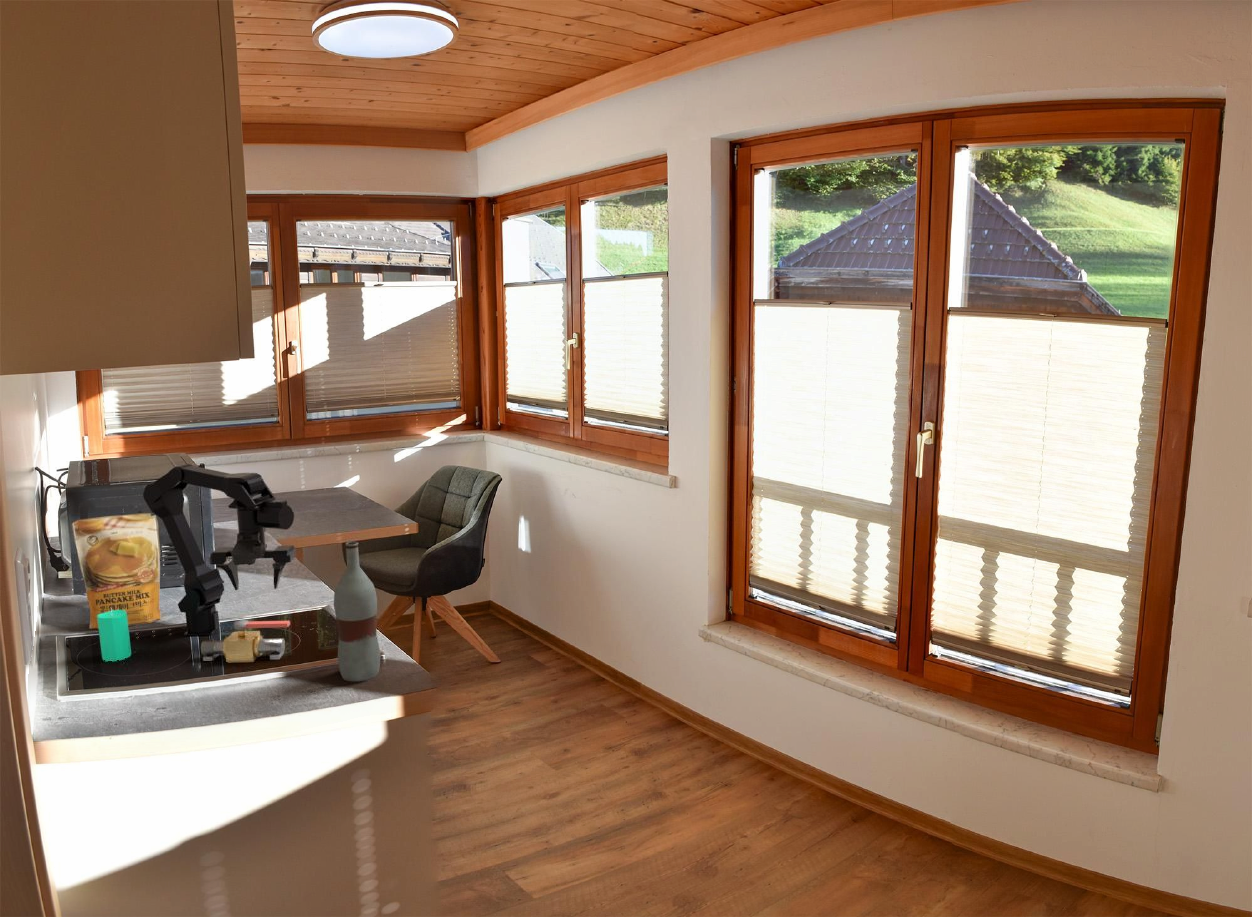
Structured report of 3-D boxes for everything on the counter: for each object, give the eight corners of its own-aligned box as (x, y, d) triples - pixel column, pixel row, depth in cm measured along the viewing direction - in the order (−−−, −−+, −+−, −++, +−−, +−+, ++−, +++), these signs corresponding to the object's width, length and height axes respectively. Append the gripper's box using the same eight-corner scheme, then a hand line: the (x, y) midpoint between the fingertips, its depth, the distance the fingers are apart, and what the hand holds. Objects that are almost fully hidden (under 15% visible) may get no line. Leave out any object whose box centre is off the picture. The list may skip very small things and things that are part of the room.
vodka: (382, 679, 207) (374, 546, 201) (338, 685, 204) (329, 550, 198) (380, 663, 215) (373, 535, 210) (338, 668, 213) (329, 539, 207)
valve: (199, 663, 216) (196, 634, 215) (209, 653, 222) (206, 625, 221) (280, 661, 217) (277, 632, 216) (287, 650, 223) (285, 622, 222)
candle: (102, 663, 217) (95, 613, 215) (102, 654, 222) (96, 605, 220) (131, 658, 220) (125, 609, 217) (131, 649, 225) (125, 601, 223)
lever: (232, 629, 217) (231, 624, 216) (237, 624, 220) (236, 620, 220) (286, 628, 217) (286, 623, 217) (291, 623, 220) (290, 619, 220)
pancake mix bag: (85, 624, 242) (72, 517, 237) (167, 613, 250) (156, 509, 245) (82, 633, 236) (69, 524, 231) (167, 621, 244) (156, 515, 239)
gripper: (198, 536, 218) (204, 601, 221) (281, 534, 219) (286, 598, 222) (215, 524, 229) (221, 586, 232) (294, 522, 230) (299, 584, 233)
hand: (256, 589), depth 229 cm, fingers open, 9 cm apart
